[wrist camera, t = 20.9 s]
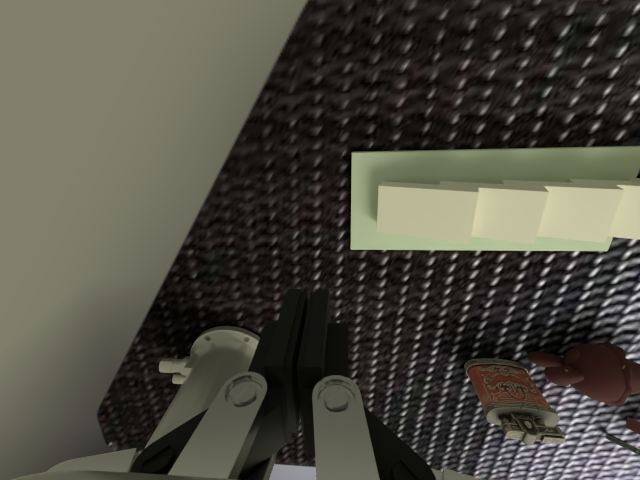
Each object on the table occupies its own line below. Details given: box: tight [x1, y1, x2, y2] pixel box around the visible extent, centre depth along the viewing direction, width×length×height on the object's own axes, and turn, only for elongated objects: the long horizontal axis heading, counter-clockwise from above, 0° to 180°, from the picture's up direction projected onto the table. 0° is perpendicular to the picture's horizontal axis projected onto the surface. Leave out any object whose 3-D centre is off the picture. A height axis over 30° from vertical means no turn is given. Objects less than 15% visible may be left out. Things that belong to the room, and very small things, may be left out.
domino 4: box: [568, 179, 640, 239], centre depth 29 cm, size 2×5×9 cm
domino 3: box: [501, 180, 624, 243], centre depth 29 cm, size 2×5×9 cm
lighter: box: [464, 359, 565, 445], centre depth 37 cm, size 8×3×10 cm, turn 89°
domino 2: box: [440, 181, 549, 244], centre depth 30 cm, size 2×5×9 cm
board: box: [351, 146, 640, 251], centre depth 32 cm, size 28×11×1 cm, turn 92°
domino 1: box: [377, 181, 479, 244], centre depth 30 cm, size 2×5×9 cm
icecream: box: [528, 343, 640, 406], centre depth 37 cm, size 7×8×15 cm
